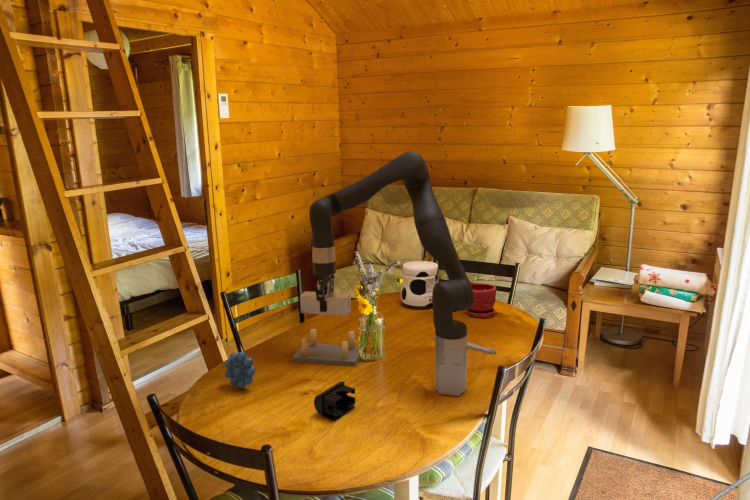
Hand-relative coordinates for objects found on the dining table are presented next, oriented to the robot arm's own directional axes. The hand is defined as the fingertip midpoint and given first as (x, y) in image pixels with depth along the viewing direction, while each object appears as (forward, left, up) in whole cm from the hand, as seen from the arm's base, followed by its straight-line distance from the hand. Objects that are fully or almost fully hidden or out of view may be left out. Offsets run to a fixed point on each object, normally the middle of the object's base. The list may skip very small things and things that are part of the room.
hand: (325, 308), depth 184 cm
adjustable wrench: (+19, -44, -18) cm, 51 cm away
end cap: (-34, -13, -18) cm, 41 cm away
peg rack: (+2, 0, -18) cm, 18 cm away
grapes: (-25, +19, -18) cm, 36 cm away
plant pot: (+55, -49, -18) cm, 76 cm away
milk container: (+64, -23, -18) cm, 70 cm away
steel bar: (0, 0, -1) cm, 1 cm away
